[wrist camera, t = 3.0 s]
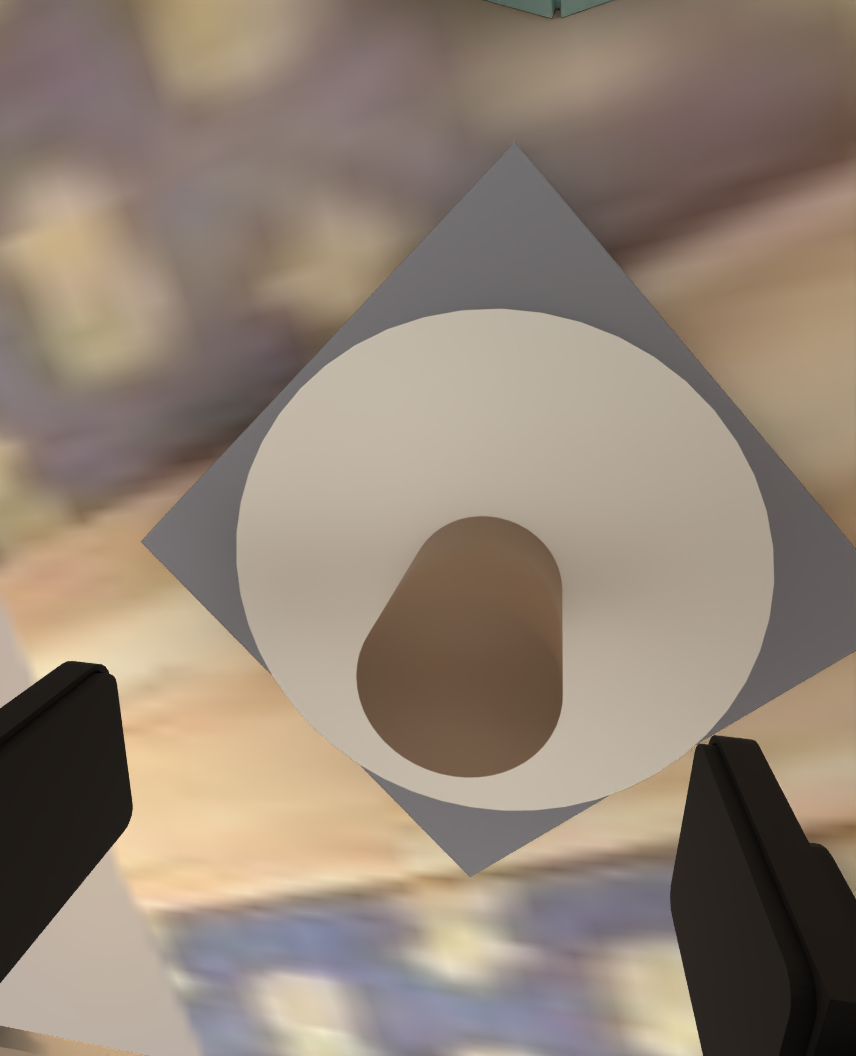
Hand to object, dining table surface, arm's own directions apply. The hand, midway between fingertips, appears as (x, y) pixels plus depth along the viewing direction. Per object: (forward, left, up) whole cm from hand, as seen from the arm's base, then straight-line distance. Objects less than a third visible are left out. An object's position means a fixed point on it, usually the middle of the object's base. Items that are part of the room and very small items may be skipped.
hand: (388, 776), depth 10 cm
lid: (0, -1, -9) cm, 9 cm away
